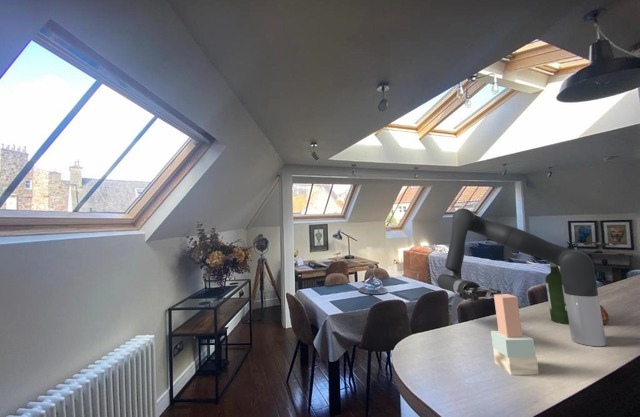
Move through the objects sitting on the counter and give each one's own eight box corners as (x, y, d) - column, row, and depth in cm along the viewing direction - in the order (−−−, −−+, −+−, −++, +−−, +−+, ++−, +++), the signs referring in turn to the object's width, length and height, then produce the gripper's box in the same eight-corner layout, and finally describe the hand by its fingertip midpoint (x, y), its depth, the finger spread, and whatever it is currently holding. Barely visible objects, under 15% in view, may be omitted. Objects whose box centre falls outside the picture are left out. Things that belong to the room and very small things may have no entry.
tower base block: (494, 363, 87) (492, 347, 88) (520, 362, 87) (517, 346, 88) (511, 375, 79) (508, 357, 80) (538, 374, 79) (536, 356, 80)
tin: (611, 326, 112) (607, 306, 113) (602, 326, 113) (599, 306, 114) (584, 316, 127) (581, 298, 128) (576, 316, 127) (573, 298, 128)
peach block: (498, 332, 87) (493, 294, 88) (512, 331, 87) (507, 293, 88) (507, 337, 82) (502, 297, 84) (522, 337, 82) (517, 297, 83)
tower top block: (492, 346, 88) (490, 330, 89) (518, 346, 87) (516, 330, 88) (507, 357, 80) (505, 340, 81) (535, 356, 80) (533, 339, 80)
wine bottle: (576, 325, 116) (565, 255, 119) (553, 323, 120) (543, 255, 123) (572, 319, 122) (561, 253, 126) (549, 318, 127) (540, 254, 130)
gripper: (448, 280, 112) (467, 288, 96) (482, 279, 111) (508, 286, 95) (450, 299, 111) (470, 309, 95) (485, 297, 111) (511, 308, 95)
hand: (489, 298), depth 95 cm, fingers open, 8 cm apart
